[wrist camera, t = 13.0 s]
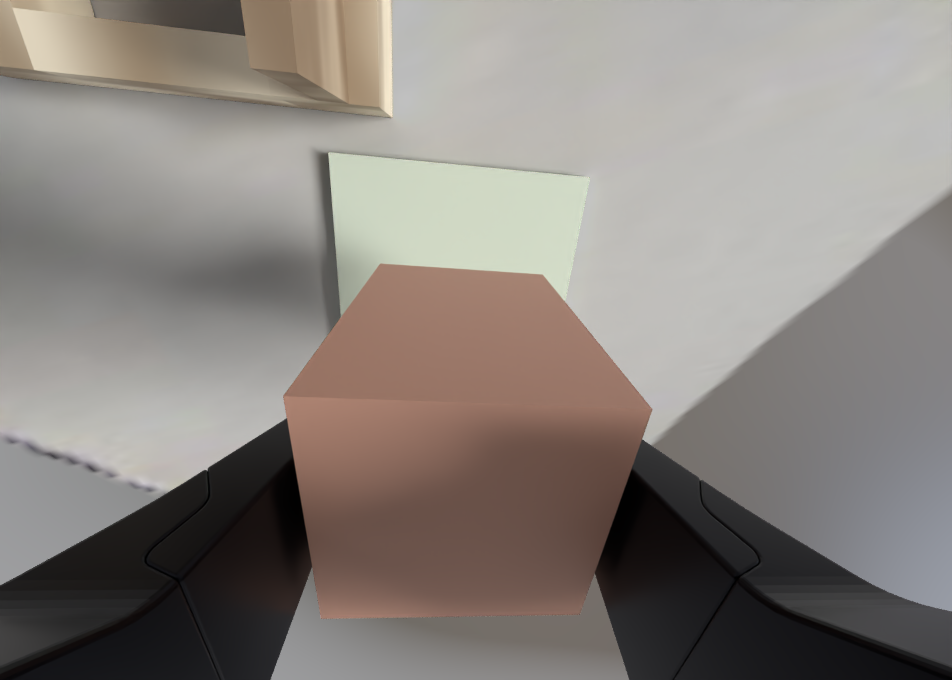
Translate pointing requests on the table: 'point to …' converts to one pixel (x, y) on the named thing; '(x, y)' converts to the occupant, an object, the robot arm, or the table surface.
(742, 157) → the table surface
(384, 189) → the sage mat
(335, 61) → the open storage box
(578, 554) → the block
